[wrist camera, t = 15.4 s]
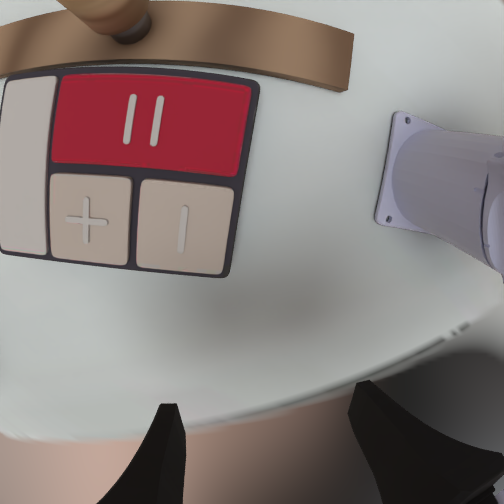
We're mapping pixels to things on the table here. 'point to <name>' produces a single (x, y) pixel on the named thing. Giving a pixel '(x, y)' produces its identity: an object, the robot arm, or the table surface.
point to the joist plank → (188, 43)
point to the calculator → (125, 167)
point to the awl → (113, 17)
